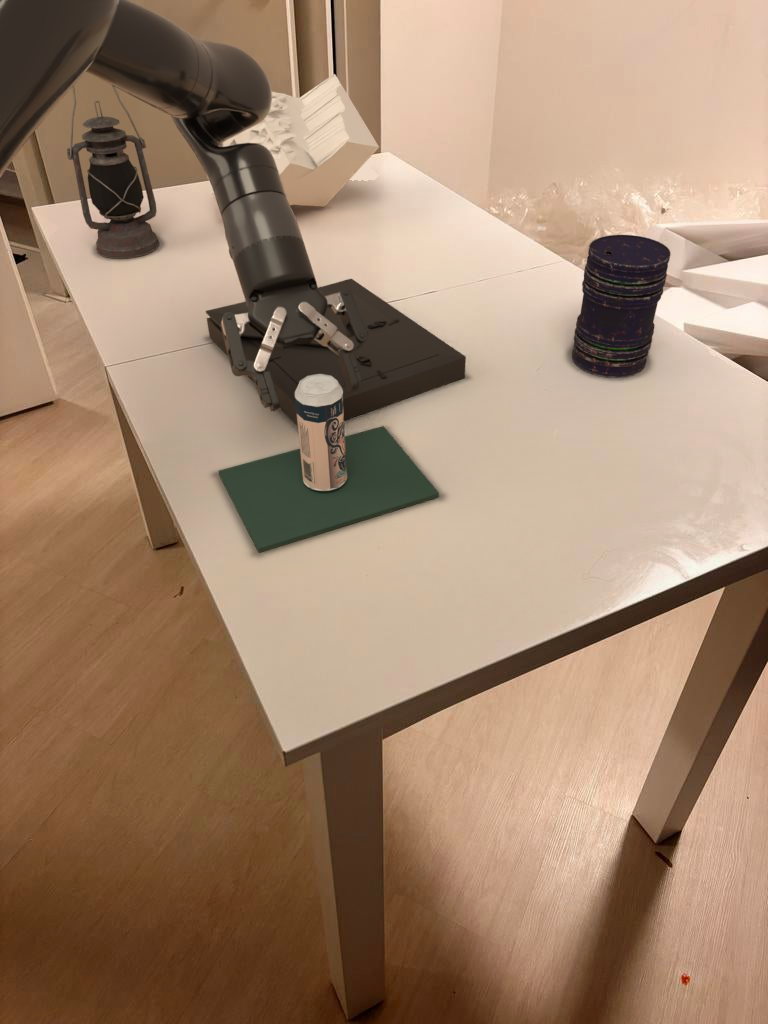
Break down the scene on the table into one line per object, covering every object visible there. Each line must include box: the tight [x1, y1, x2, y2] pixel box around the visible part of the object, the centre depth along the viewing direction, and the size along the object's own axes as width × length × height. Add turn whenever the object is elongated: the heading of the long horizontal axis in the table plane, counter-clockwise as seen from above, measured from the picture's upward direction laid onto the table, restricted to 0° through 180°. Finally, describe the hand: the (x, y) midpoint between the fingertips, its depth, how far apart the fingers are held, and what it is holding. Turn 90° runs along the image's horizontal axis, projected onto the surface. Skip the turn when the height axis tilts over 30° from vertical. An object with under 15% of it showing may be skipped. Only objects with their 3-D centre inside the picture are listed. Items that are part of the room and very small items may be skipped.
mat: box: [218, 425, 440, 553], centre depth 87 cm, size 20×14×1 cm
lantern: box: [66, 85, 160, 260], centre depth 129 cm, size 12×11×30 cm
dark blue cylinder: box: [571, 234, 672, 379], centre depth 102 cm, size 10×10×15 cm
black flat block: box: [205, 278, 467, 427], centre depth 107 cm, size 23×4×28 cm
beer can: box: [295, 374, 347, 491], centre depth 83 cm, size 5×5×12 cm
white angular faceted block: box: [205, 73, 380, 207], centre depth 142 cm, size 20×16×25 cm
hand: (315, 399), depth 82 cm, fingers open, 8 cm apart
